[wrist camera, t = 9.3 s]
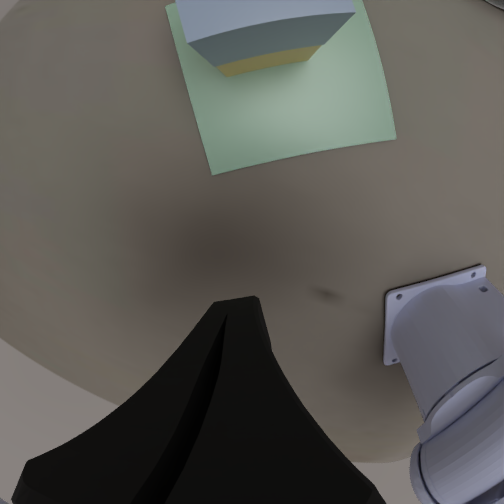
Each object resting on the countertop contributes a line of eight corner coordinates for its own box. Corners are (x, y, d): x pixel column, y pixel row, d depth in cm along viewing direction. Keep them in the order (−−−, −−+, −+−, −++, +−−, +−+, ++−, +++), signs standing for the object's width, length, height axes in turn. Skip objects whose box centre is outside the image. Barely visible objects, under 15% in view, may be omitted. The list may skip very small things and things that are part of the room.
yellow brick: (286, -7, 12) (294, -42, 8) (308, 60, 14) (324, 42, 9) (207, 10, 12) (189, -20, 8) (226, 77, 14) (213, 64, 10)
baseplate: (349, -26, 11) (351, -28, 11) (393, 138, 16) (396, 139, 15) (167, 8, 12) (165, 6, 12) (213, 174, 17) (212, 175, 17)
